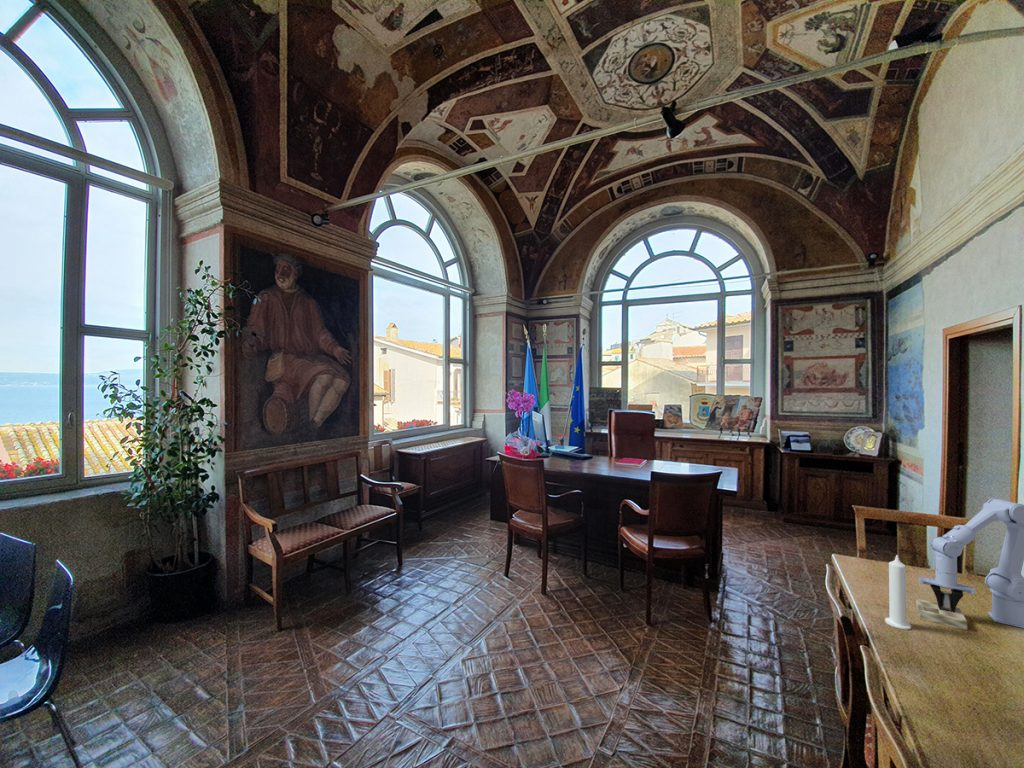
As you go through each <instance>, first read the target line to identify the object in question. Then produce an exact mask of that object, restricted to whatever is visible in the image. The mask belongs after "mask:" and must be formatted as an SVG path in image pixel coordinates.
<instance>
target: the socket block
mask: <svg viewBox="0 0 1024 768" xmlns="http://www.w3.org/2000/svg"><path fill="white" fill-rule="evenodd" d="M915 608H916V611H917V613H918V617H919V619H920V620H923V621H926V622H931V623H935V624H939V625H944V626H947V627H951V628H955V629H959V630H965V631H968V620H967V619H966V617H965V616H964V613H963V612H962V610H961V608H959V607H957V606H956V609H955V610H952V612H948V611H944V610H941V607H939V606H938V603H937V602H933V601H929V600H924V599H921V598H915Z"/></svg>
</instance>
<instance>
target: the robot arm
mask: <svg viewBox="0 0 1024 768" xmlns="http://www.w3.org/2000/svg"><path fill="white" fill-rule="evenodd" d="M997 521H998V522H1000V521H1001V522H1003V524H1004V525H1006V531H1005V536H1004V540H1003V543H1002V547H1001V553H1000V557H999V561H998V566H996V567H993V568H990V571H989V573H988V574H987V575H986V577H985V578H984V583H985V585H986V587H987V588H989V592H990V593H991V611H987V613H988V615H989V616H990V618H991V620H992V621H993V622H995V623H1000V624H1004V625H1008V626H1014V627H1018V628H1021V629H1024V576H1023V574H1022V570H1023V565H1024V504H1023V503H1017V502H1012V501H1009V500H1004V499H1001V498H998V497H991V498H990V499H988V500H987V501H986V502H984V503H983V505H982V509H981V510H980V511H979V512H978V513H976V514H975V515H974V516H973V517H972V518H971V519H970V520H969V521H968V522H966V523H965V524H957V525H954V526H953V528H952V529H951V530H949V531H947V532H946V533H945V534H944V535H942V536H938V537H935V538H933V539H932V541H931V543H930V544H929V545H930V547H931V549H932V550H933V554H934V560H935V561H934V563H935V564H934V565H935V566H934V567H935V572H934V574H935V577H934V578H933V577H932V578H929V577H922V576H918V583H919V584H920V585H929V586H930V587H931V590H932V591H933V593H934V596H935V598H936V603H938V606H939V607H941V606H942V605H941V591H942V590H941V588H944V589H948V590H950V593H951V594H952V610H955V609H956V607H957V606H958V604H959V602H960V600H961V599H963V597H964V593H967V594H971V595H974V596H975V595H976V589H975V588H974V587H972V586H969V585H965V584H961V583H958V557H959V556H961V555H962V554H963V553H962V552H963V550H964V549H965V546H966V545H968V544H969V543H971V542H972V541H974V540H975V539H976V537H977V534H976V533H977V532H979V531H981V530H982V529H985V528H986V527H988V526H989V525H990V524H992V523H994V522H997Z"/></svg>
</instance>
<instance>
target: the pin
mask: <svg viewBox="0 0 1024 768" xmlns="http://www.w3.org/2000/svg"><path fill="white" fill-rule="evenodd" d="M941 605H942V606H941V610H944V611H948V612H952V594H951V592H948V591H946V590H945V591H944V590H941Z"/></svg>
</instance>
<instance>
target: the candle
mask: <svg viewBox="0 0 1024 768" xmlns="http://www.w3.org/2000/svg"><path fill="white" fill-rule="evenodd" d="M906 568H907V567H906V565H905V564H904V563H903V562H902V561H901V560H900V558H899V555H898V554H896V555H895V558H894V560H892V561H889V562H888V590H889V591H888V593H889V596H888V598H889V600H888V601H889V603H888V606H889V607H888V609H889V610H888V613H889V616H888V617H885V618H884V622H885V623H886V625H887V624H888V626H891V627H893V628H895V629H899V630H903V631H904V630H906V631H908V630H909V631H910V630H911V629H912V624H910V623H909V622H907V573H906V572H907V569H906Z"/></svg>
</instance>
